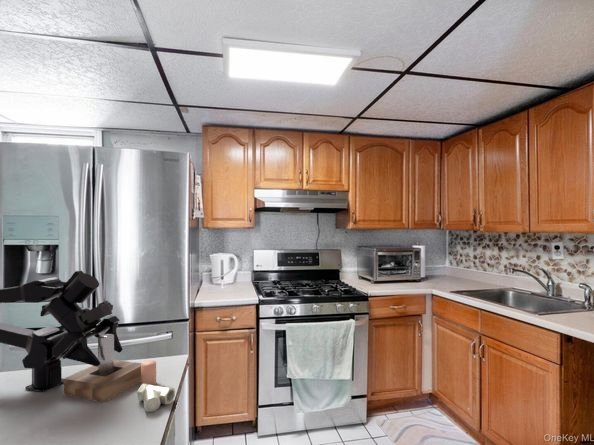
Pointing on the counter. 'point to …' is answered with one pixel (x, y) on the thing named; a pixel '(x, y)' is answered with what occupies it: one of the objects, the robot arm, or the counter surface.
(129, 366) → the walnut block
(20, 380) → the counter surface
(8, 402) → the counter surface
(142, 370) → the short terracotta pin
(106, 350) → the tall metal pin
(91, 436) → the counter surface
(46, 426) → the counter surface
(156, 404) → the pipe fitting
